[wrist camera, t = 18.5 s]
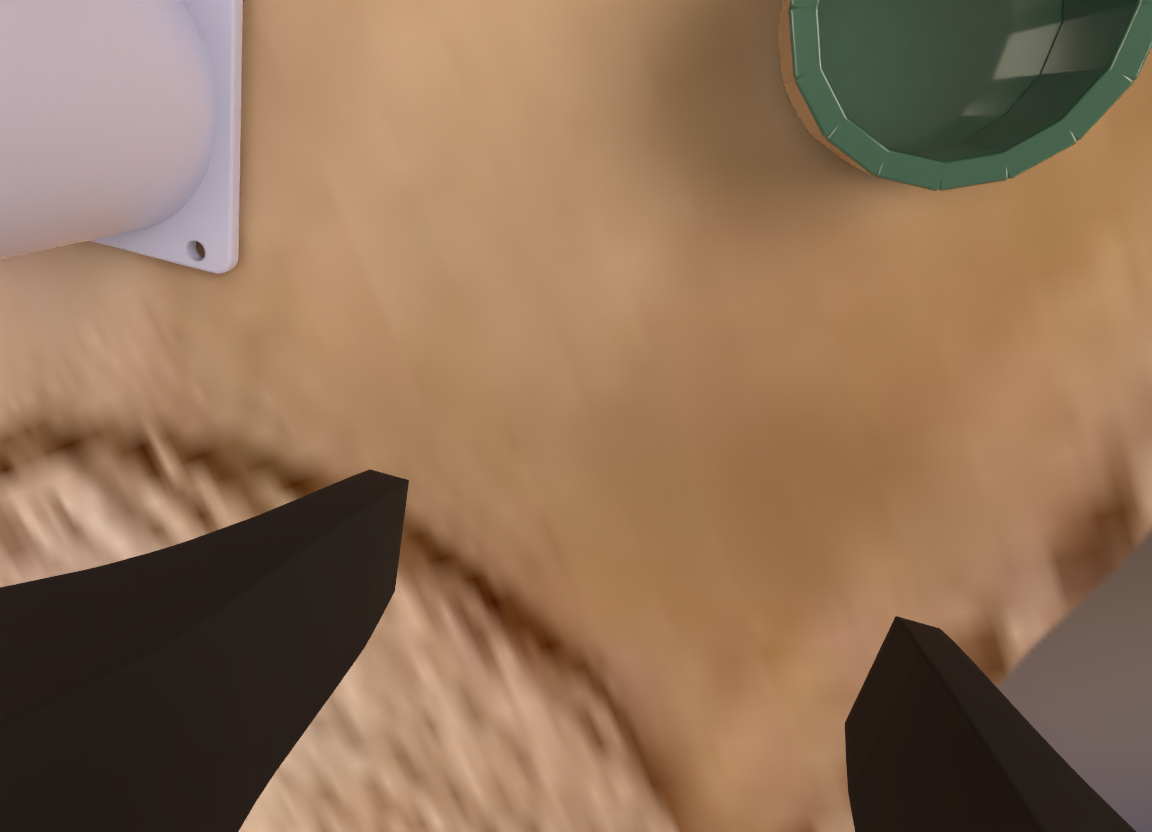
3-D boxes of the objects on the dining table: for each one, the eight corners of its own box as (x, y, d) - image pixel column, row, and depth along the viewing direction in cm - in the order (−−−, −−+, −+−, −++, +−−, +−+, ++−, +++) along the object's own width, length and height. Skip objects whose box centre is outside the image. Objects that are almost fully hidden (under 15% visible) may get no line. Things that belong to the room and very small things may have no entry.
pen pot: (743, 140, 17) (748, 148, 14) (831, -171, 15) (860, -248, 11) (1004, 199, 16) (1070, 221, 13) (1138, -113, 14) (1257, -176, 11)
